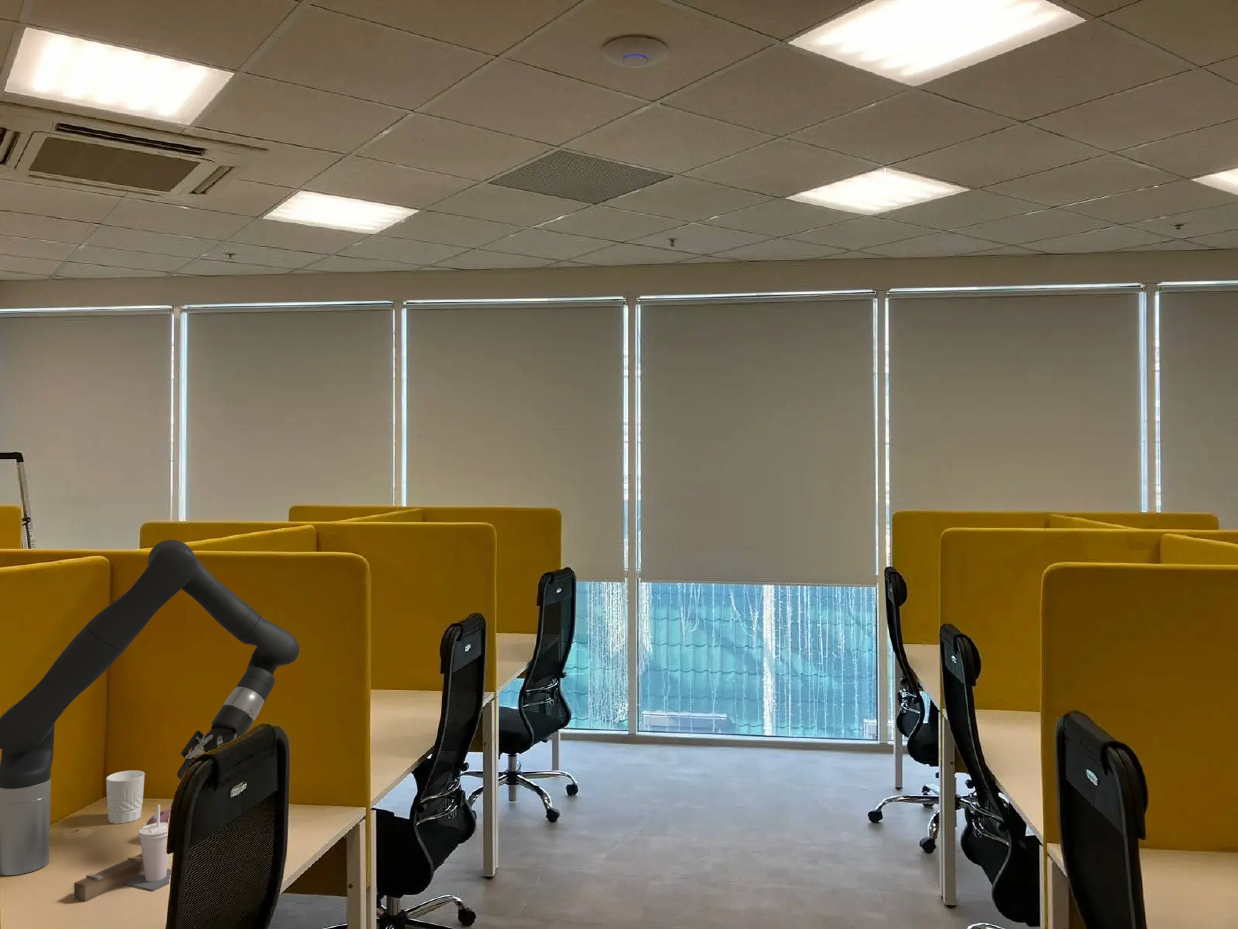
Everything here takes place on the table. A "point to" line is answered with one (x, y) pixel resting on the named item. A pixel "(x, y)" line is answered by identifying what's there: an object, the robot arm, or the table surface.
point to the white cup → (125, 796)
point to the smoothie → (154, 849)
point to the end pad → (148, 882)
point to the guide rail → (108, 878)
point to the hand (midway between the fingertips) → (195, 781)
